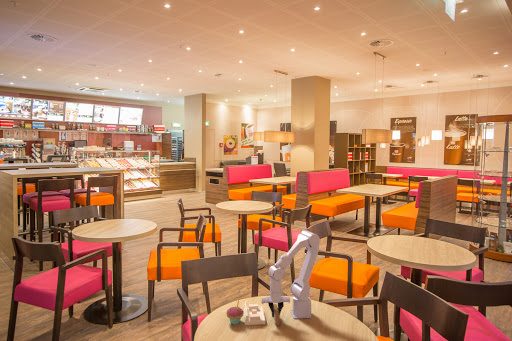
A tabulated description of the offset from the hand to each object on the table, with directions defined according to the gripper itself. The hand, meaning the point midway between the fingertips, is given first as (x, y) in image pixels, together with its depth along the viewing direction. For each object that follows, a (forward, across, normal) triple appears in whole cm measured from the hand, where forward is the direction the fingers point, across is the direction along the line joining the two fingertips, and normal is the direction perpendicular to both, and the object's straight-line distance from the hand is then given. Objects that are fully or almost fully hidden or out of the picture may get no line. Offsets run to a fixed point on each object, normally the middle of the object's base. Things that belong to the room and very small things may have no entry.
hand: (275, 316), depth 158 cm
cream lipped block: (+2, +11, -4) cm, 12 cm away
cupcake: (+3, +21, -1) cm, 21 cm away
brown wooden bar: (+2, 0, 0) cm, 2 cm away
